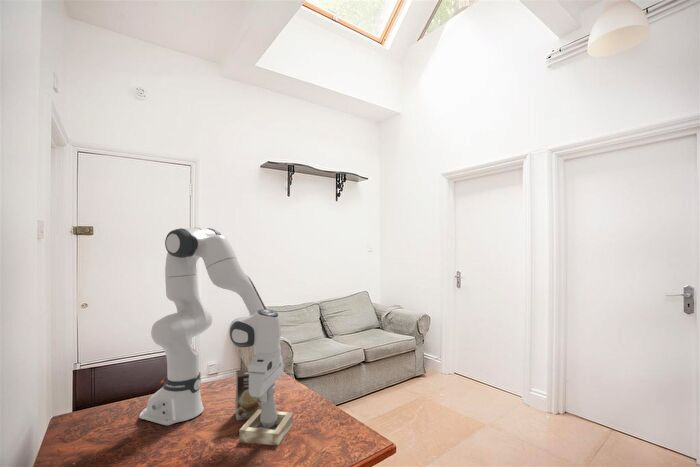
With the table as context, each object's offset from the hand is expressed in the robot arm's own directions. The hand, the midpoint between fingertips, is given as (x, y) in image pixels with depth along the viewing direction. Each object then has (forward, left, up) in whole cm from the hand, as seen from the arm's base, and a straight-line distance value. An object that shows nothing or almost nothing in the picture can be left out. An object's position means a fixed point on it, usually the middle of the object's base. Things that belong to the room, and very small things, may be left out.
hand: (267, 398), depth 118 cm
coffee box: (-12, +10, -12) cm, 20 cm away
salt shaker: (0, 0, -9) cm, 9 cm away
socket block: (0, 0, -12) cm, 12 cm away
